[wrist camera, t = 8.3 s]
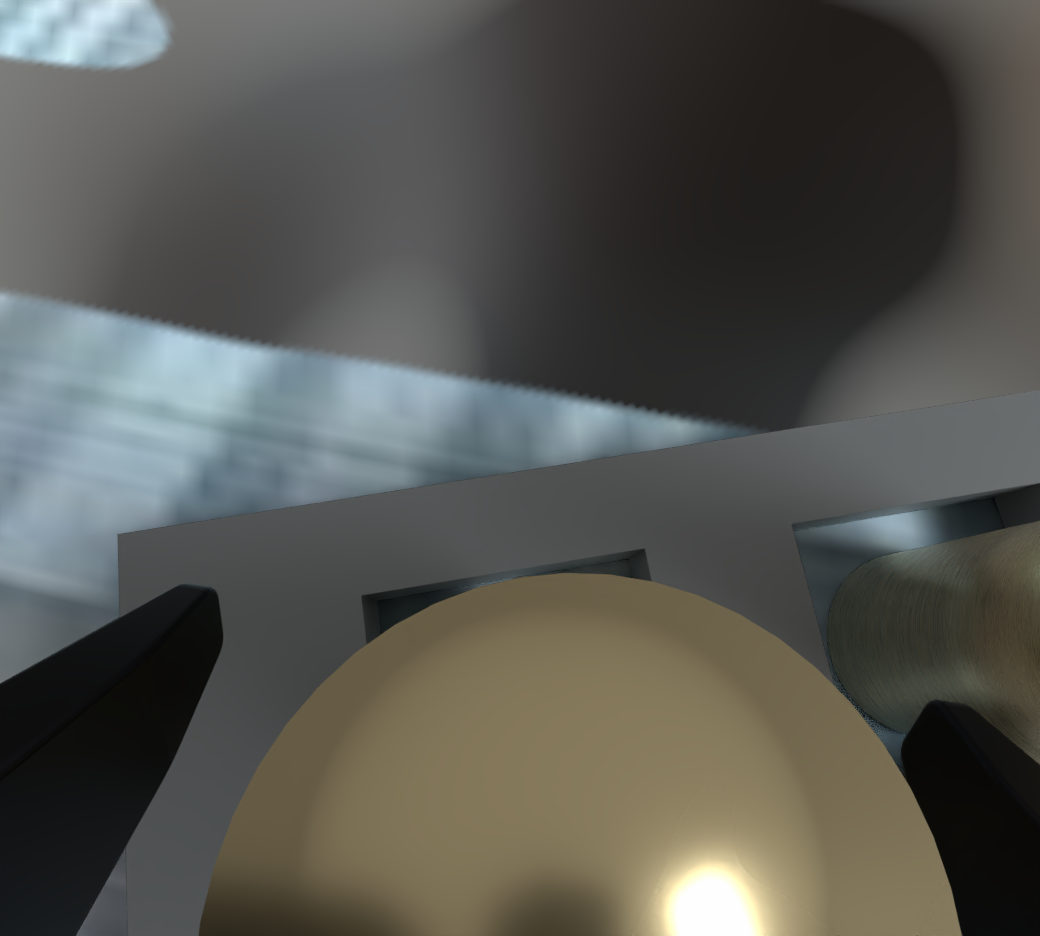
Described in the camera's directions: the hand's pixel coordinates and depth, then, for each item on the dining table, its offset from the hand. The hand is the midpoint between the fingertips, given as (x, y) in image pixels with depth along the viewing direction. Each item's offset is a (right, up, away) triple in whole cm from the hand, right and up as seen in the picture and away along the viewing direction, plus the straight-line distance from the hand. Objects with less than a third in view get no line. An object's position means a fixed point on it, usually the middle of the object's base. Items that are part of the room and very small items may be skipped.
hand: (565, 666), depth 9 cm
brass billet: (0, -4, +8) cm, 9 cm away
